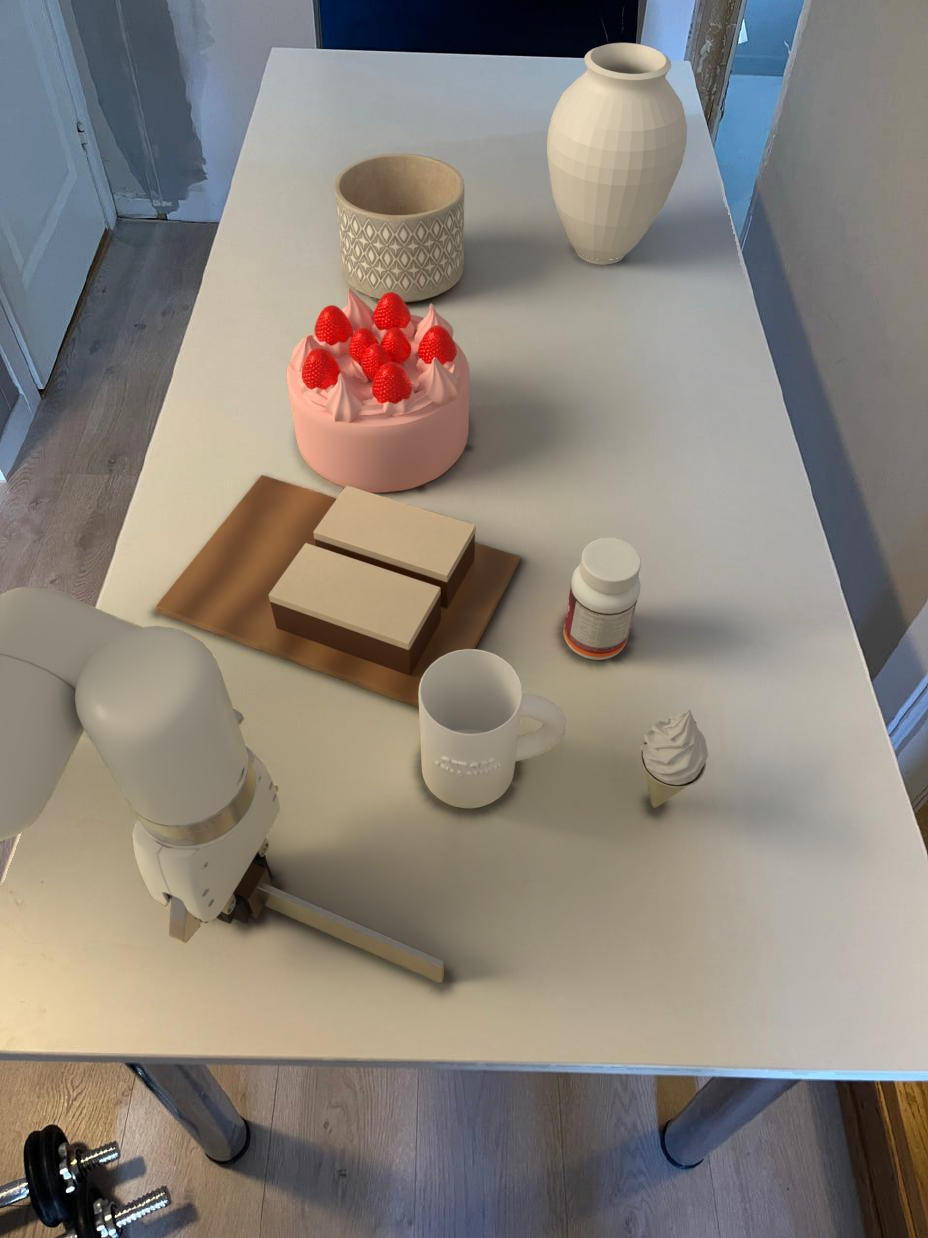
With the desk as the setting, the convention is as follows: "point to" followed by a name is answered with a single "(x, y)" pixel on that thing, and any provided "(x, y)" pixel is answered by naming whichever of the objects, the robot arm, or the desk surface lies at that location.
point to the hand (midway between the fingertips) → (242, 892)
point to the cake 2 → (399, 539)
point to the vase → (615, 149)
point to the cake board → (263, 550)
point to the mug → (478, 727)
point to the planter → (401, 225)
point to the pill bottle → (602, 599)
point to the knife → (332, 924)
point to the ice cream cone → (673, 757)
